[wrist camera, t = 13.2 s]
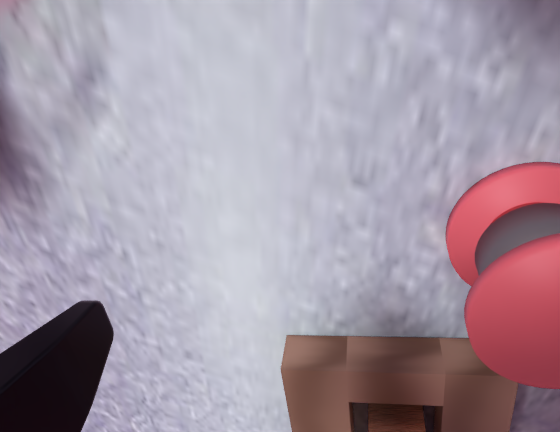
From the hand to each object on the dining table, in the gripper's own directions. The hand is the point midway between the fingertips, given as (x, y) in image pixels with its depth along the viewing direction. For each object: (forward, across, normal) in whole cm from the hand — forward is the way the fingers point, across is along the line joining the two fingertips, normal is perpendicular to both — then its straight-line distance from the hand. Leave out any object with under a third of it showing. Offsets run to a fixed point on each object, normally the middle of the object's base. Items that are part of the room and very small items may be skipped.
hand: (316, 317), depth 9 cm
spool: (+13, -8, +7) cm, 17 cm away
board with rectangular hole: (+13, -2, +20) cm, 24 cm away
